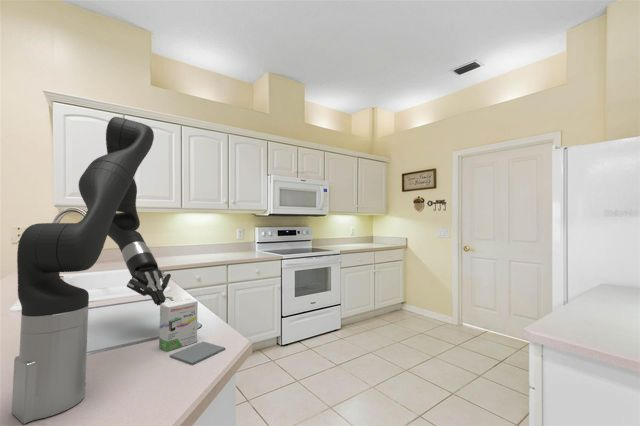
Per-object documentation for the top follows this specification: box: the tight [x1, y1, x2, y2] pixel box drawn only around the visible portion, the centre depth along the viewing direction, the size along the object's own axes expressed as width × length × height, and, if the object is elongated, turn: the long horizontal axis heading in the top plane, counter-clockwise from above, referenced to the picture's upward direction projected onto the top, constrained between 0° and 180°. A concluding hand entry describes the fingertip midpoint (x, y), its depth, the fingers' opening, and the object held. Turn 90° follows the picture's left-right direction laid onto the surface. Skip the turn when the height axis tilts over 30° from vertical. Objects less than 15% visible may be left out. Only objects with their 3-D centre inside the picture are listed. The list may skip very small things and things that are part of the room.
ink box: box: [158, 297, 199, 352], centre depth 80 cm, size 8×5×12 cm, turn 140°
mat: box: [169, 341, 226, 366], centre depth 74 cm, size 10×9×1 cm
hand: (161, 303), depth 85 cm, fingers closed
